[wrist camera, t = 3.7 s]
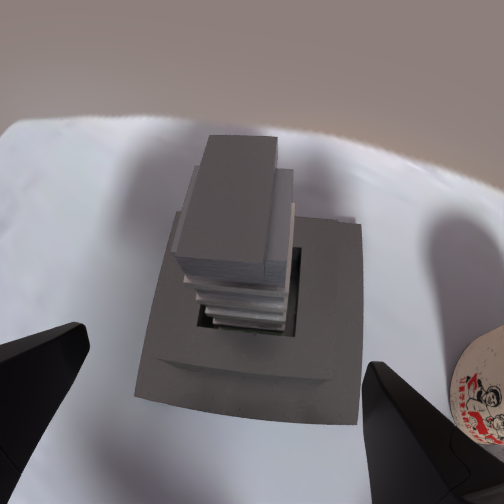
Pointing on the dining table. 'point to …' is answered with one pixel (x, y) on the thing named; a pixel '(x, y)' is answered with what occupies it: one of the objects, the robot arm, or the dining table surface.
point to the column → (239, 234)
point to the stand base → (266, 339)
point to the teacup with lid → (480, 389)
